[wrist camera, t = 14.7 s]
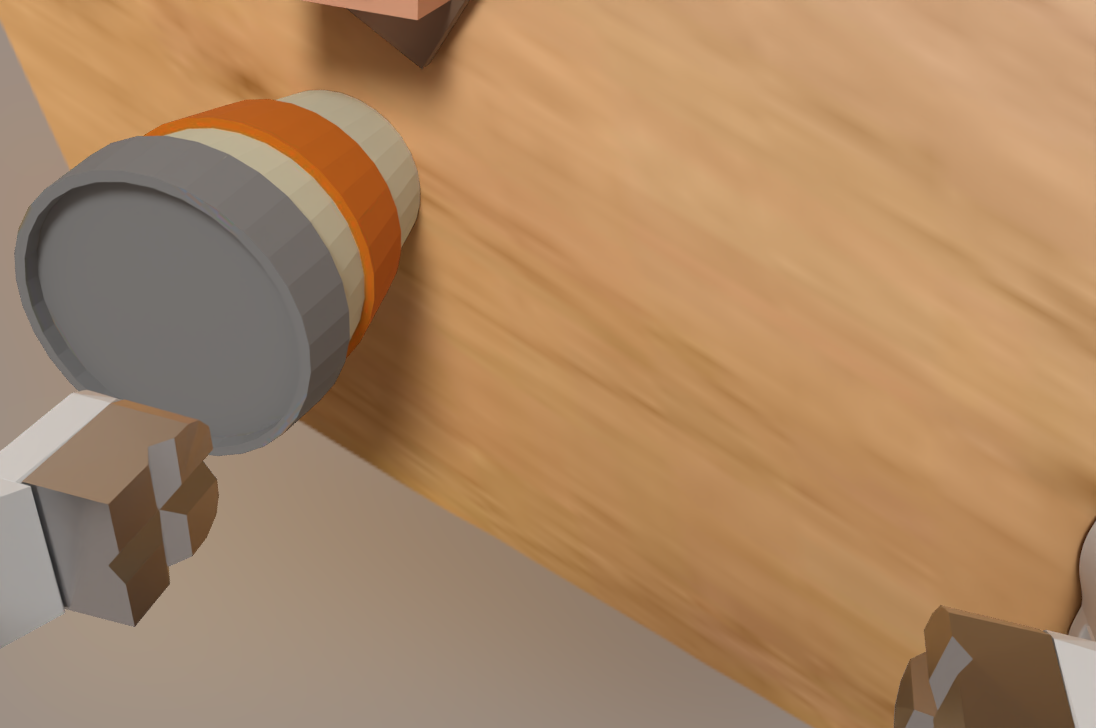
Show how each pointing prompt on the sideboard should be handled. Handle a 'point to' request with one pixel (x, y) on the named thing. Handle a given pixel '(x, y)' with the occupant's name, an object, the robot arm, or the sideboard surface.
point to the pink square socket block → (389, 6)
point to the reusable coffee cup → (222, 260)
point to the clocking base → (415, 30)
